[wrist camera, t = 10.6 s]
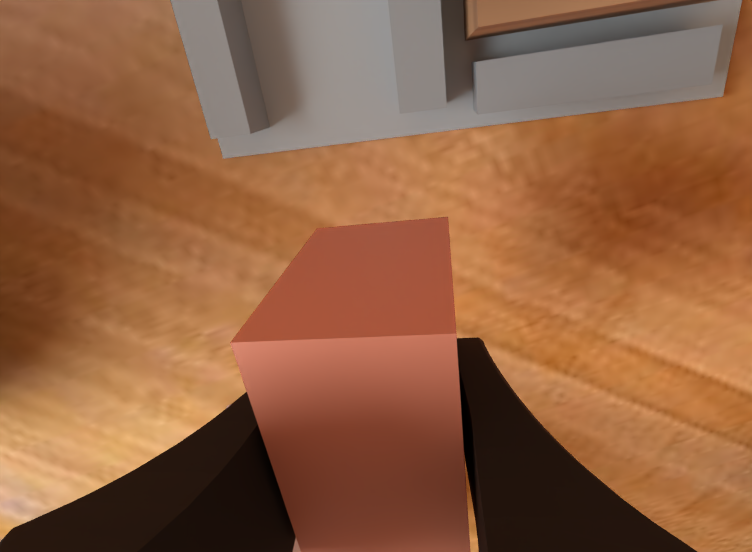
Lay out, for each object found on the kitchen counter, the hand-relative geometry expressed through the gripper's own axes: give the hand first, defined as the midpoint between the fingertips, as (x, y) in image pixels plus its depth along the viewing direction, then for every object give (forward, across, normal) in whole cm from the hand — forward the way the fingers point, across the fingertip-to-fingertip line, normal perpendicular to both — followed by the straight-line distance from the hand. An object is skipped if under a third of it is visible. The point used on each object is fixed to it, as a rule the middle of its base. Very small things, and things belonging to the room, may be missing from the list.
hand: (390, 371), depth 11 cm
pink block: (+2, 0, 0) cm, 2 cm away
